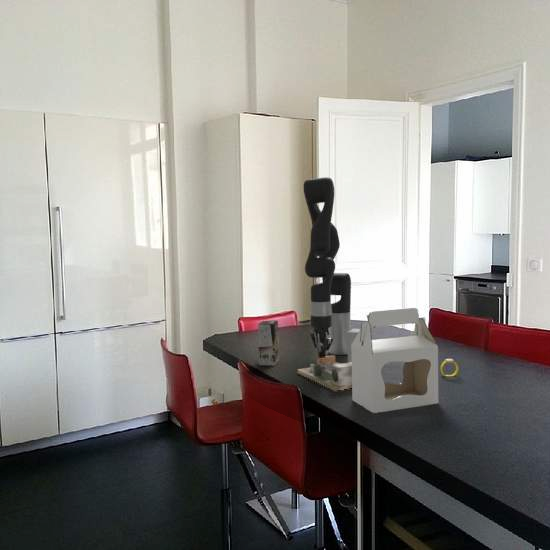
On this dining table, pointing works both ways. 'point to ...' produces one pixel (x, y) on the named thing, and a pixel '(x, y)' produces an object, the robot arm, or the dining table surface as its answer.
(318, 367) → the gauge marker
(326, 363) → the gauge plunger
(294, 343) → the dining table surface
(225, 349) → the dining table surface
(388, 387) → the gable box
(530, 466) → the dining table surface
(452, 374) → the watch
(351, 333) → the supplement box
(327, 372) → the gauge frame
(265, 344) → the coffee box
